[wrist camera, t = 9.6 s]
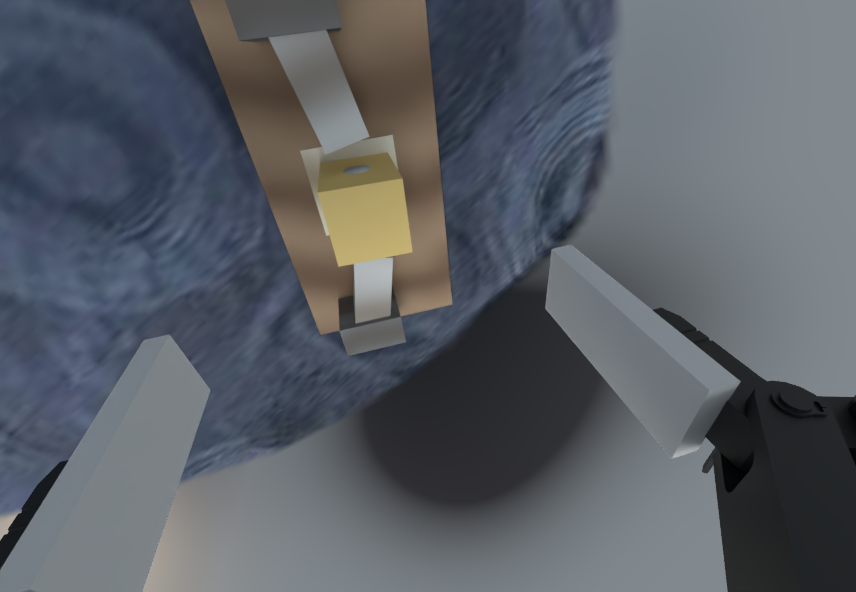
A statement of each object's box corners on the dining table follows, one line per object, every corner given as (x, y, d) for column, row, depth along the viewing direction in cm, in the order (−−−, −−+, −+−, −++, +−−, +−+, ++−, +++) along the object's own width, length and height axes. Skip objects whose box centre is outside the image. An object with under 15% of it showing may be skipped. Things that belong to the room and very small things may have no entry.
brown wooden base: (185, -30, 18) (137, -57, 14) (414, -55, 20) (440, -86, 15) (320, 324, 32) (319, 369, 28) (447, 295, 34) (466, 333, 29)
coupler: (318, 162, 23) (316, 191, 18) (388, 151, 24) (403, 177, 19) (336, 227, 26) (337, 267, 21) (398, 215, 26) (413, 252, 22)
